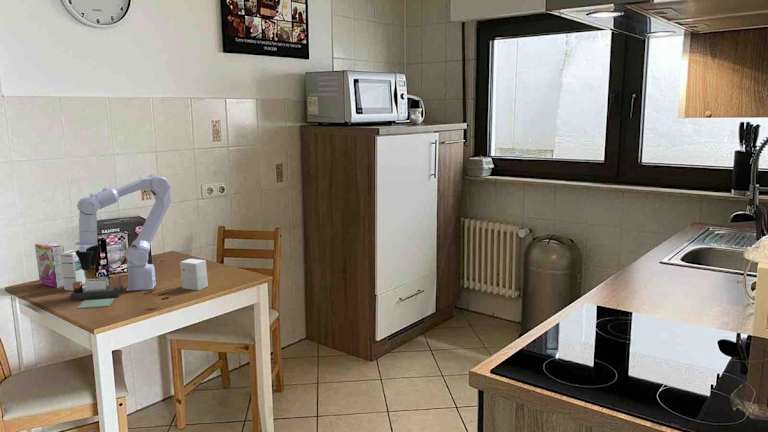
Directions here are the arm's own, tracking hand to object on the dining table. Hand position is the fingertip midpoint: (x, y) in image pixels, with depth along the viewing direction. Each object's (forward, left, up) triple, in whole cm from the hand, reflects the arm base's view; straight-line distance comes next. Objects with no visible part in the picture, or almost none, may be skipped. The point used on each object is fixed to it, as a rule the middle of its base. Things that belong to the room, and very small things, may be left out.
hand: (88, 267), depth 211 cm
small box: (-36, -2, -11) cm, 38 cm away
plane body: (-2, 0, -11) cm, 11 cm away
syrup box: (+9, -12, -11) cm, 19 cm away
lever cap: (-2, 0, -8) cm, 9 cm away
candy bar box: (+19, -19, -11) cm, 29 cm away
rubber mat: (-4, +10, -11) cm, 15 cm away
